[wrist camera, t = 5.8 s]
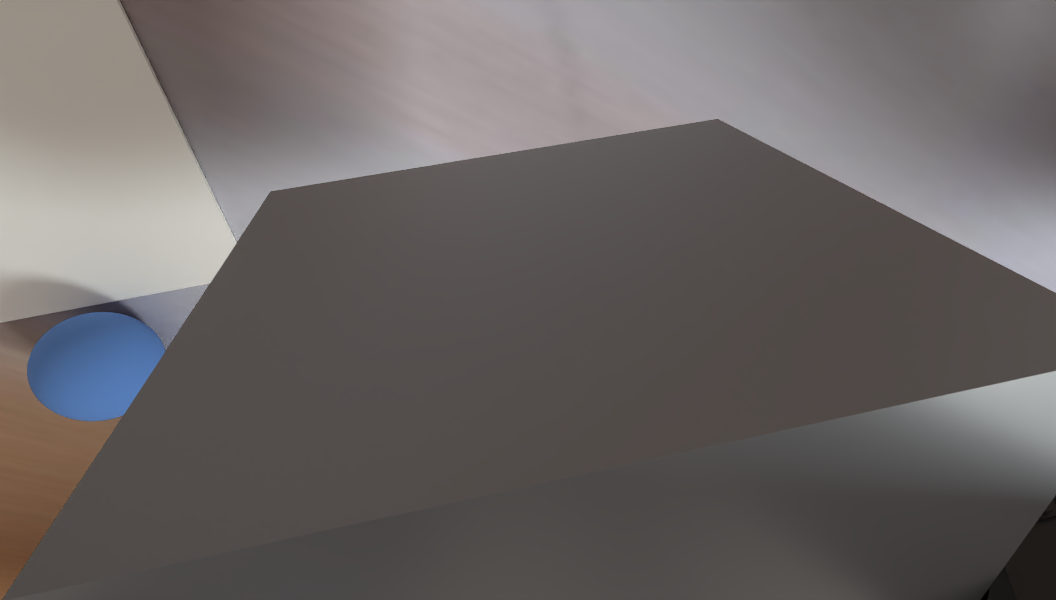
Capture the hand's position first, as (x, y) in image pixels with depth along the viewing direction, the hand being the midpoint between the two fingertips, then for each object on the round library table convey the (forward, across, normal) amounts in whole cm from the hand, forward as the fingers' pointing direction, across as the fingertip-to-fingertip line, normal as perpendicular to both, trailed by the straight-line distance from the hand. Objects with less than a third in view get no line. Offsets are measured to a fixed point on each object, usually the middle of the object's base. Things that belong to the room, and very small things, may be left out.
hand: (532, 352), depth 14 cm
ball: (+11, +19, +5) cm, 23 cm away
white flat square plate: (+14, +19, -4) cm, 24 cm away
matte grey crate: (+1, 0, 0) cm, 1 cm away
